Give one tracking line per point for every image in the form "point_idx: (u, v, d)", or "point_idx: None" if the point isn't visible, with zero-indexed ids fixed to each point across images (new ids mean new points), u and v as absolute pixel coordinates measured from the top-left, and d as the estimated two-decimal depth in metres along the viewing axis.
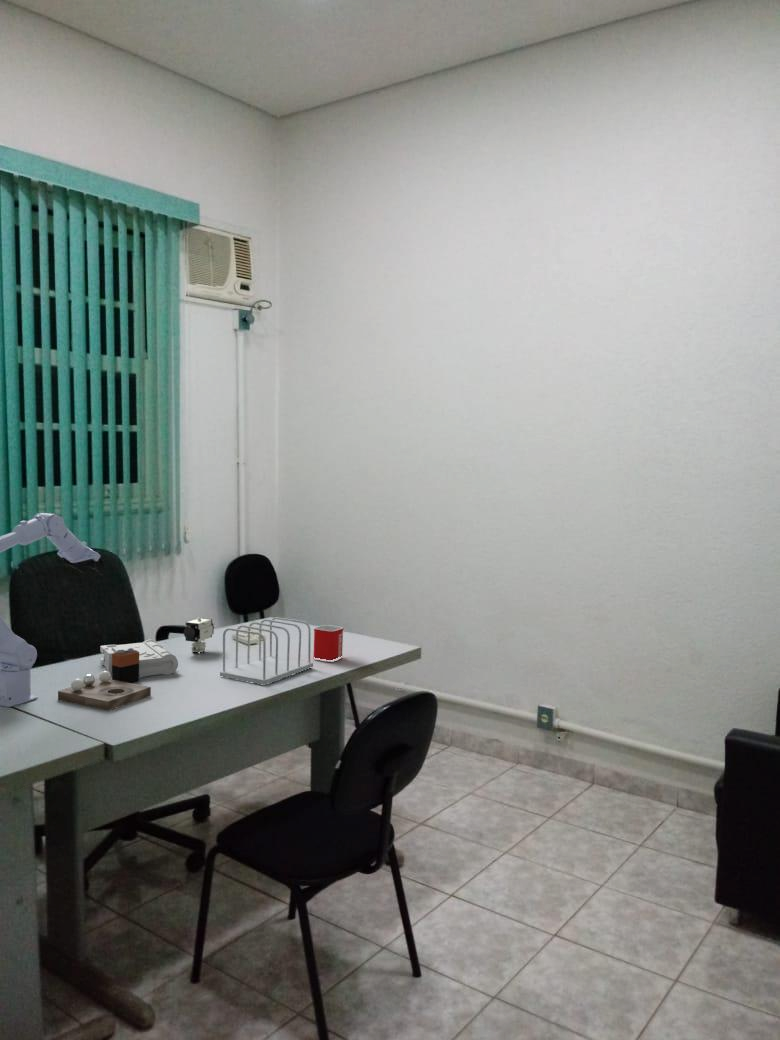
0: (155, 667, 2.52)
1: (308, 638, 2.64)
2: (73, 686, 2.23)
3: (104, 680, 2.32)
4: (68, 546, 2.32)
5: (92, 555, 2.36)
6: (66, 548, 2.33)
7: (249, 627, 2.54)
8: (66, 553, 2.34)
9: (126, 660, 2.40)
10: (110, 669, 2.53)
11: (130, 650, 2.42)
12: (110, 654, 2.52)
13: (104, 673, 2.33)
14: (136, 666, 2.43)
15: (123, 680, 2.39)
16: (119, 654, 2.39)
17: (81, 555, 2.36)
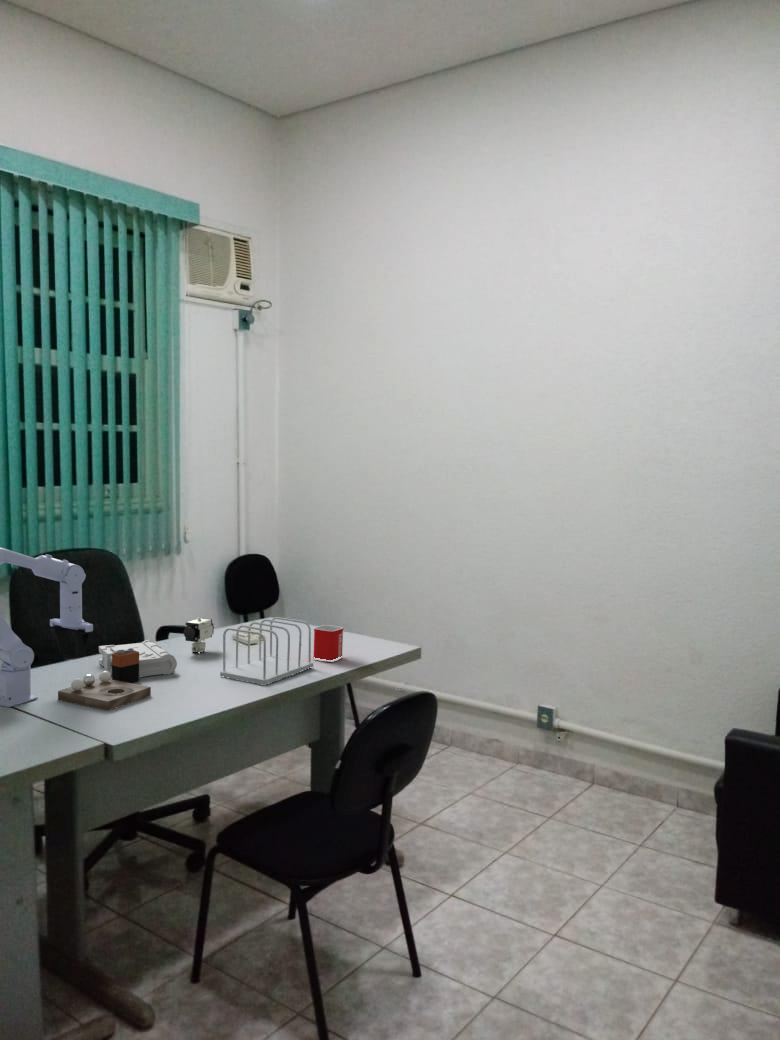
0: (154, 667, 2.51)
1: (309, 638, 2.64)
2: (73, 686, 2.23)
3: (104, 680, 2.32)
4: (68, 604, 2.28)
5: None
6: (66, 605, 2.28)
7: (249, 627, 2.54)
8: (65, 611, 2.29)
9: (126, 660, 2.40)
10: (109, 669, 2.52)
11: (130, 650, 2.42)
12: (109, 654, 2.52)
13: (104, 673, 2.33)
14: (136, 665, 2.43)
15: (123, 680, 2.39)
16: (119, 654, 2.39)
17: (75, 622, 2.30)
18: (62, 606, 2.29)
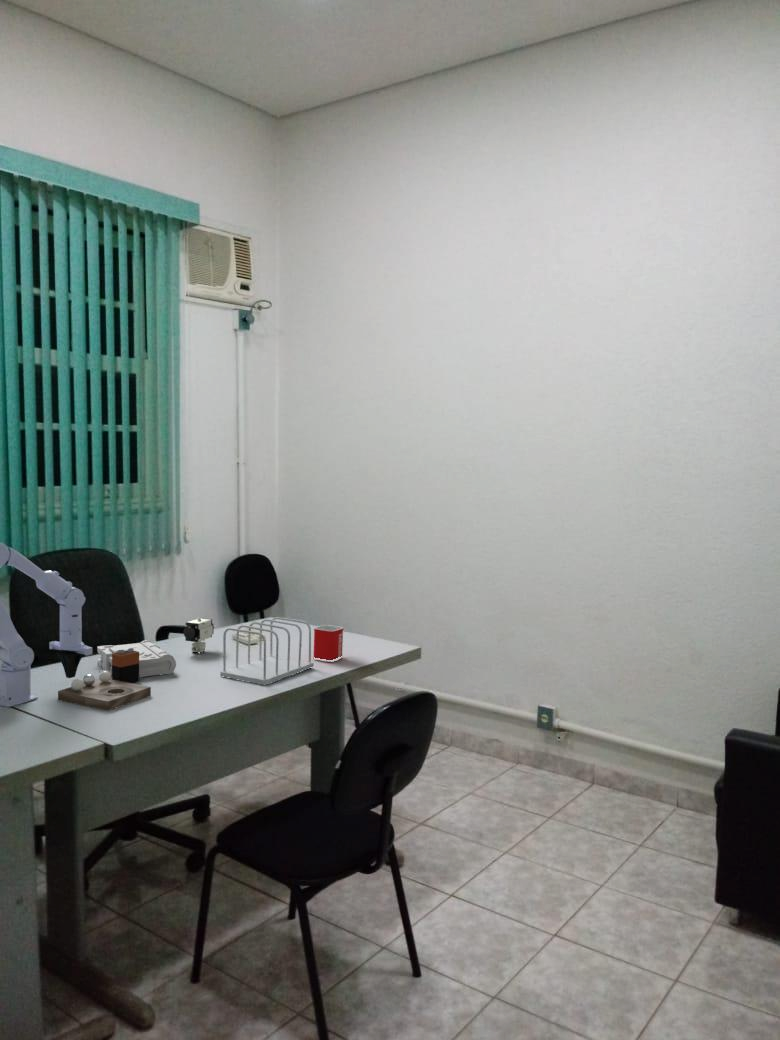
0: (153, 667, 2.51)
1: (309, 638, 2.64)
2: (73, 686, 2.23)
3: (104, 680, 2.32)
4: (68, 627, 2.29)
5: (86, 648, 2.29)
6: (65, 628, 2.29)
7: (249, 627, 2.54)
8: (64, 634, 2.29)
9: (126, 660, 2.40)
10: (107, 670, 2.52)
11: (130, 650, 2.42)
12: (107, 655, 2.52)
13: (104, 673, 2.33)
14: (136, 666, 2.43)
15: (123, 680, 2.39)
16: (119, 654, 2.39)
17: (75, 645, 2.30)
18: (62, 629, 2.29)
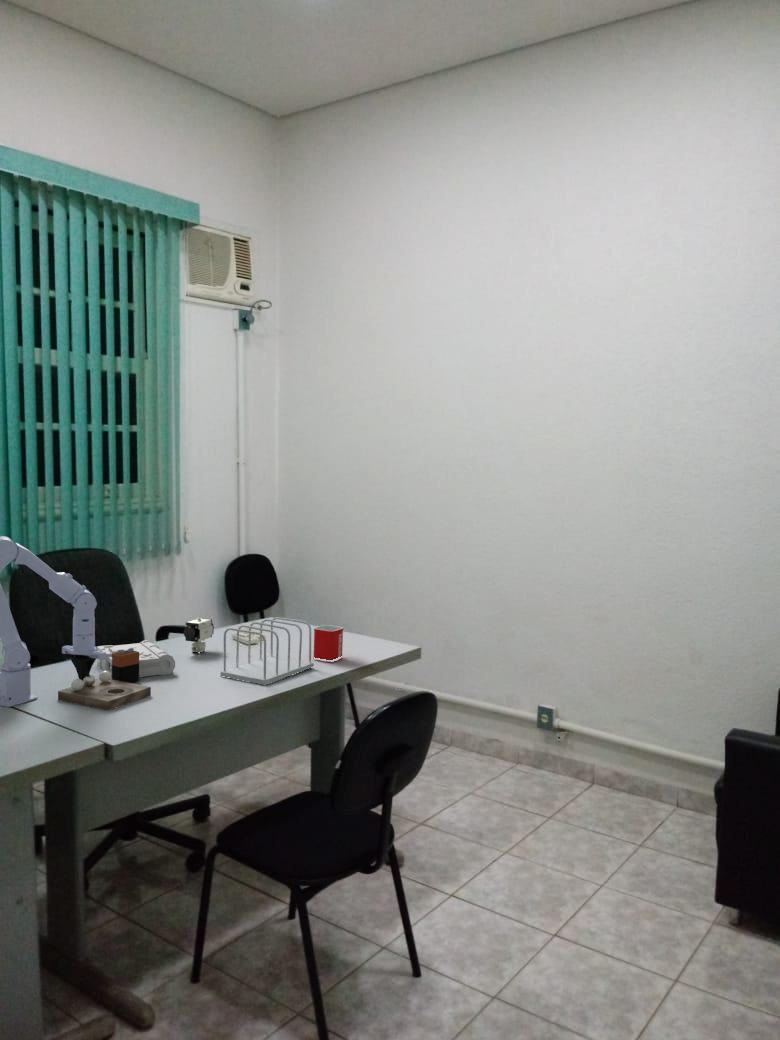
0: (152, 668, 2.51)
1: (309, 638, 2.64)
2: (73, 686, 2.23)
3: (104, 680, 2.32)
4: (78, 631, 2.27)
5: None
6: (76, 632, 2.27)
7: (250, 627, 2.54)
8: (78, 639, 2.27)
9: (126, 660, 2.40)
10: (107, 670, 2.52)
11: (130, 650, 2.42)
12: (107, 655, 2.51)
13: (104, 673, 2.33)
14: (136, 666, 2.43)
15: (123, 680, 2.39)
16: (119, 654, 2.39)
17: (88, 650, 2.28)
18: (73, 633, 2.28)
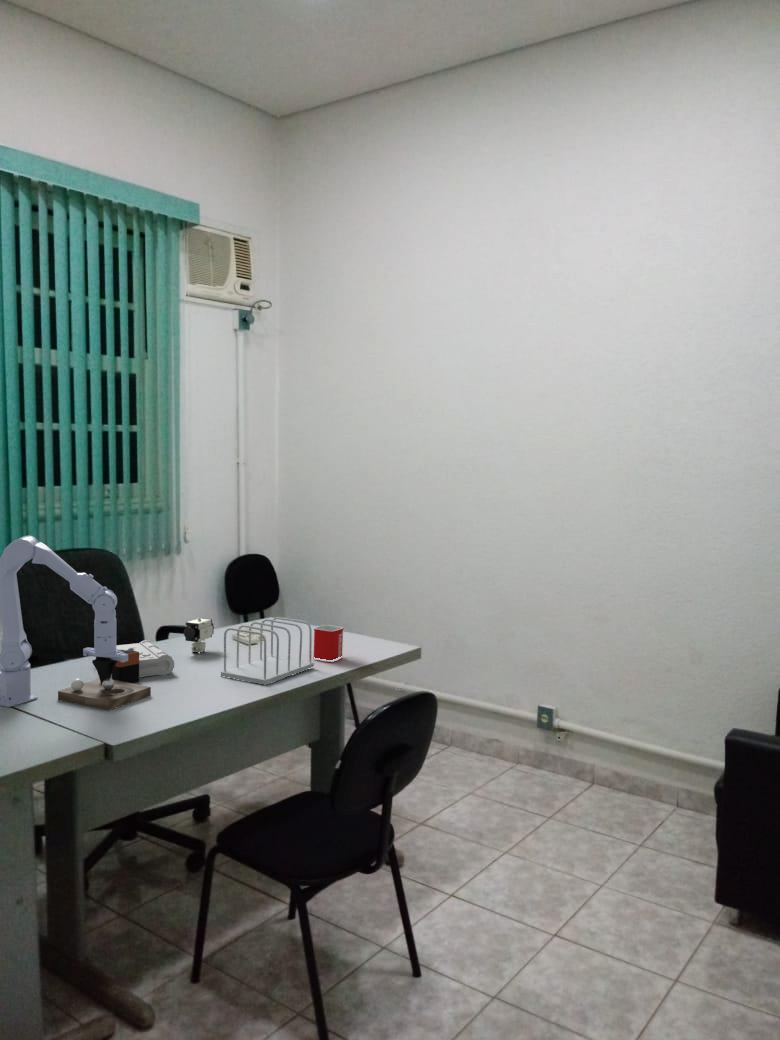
0: (151, 668, 2.51)
1: (309, 638, 2.64)
2: (73, 686, 2.23)
3: None
4: (98, 633, 2.23)
5: None
6: (96, 634, 2.24)
7: (250, 627, 2.54)
8: (99, 641, 2.24)
9: None
10: None
11: (130, 650, 2.42)
12: None
13: None
14: (136, 666, 2.43)
15: (122, 680, 2.39)
16: None
17: (110, 652, 2.25)
18: (94, 635, 2.25)
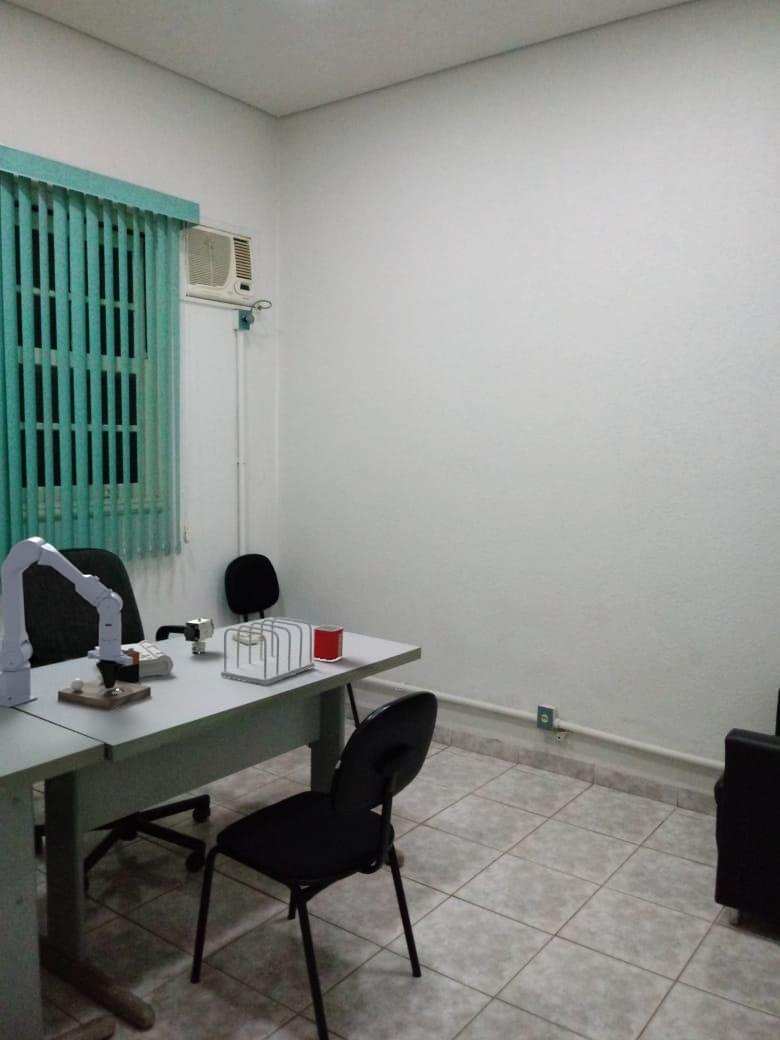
0: (150, 668, 2.50)
1: (310, 638, 2.64)
2: (73, 686, 2.23)
3: None
4: (102, 636, 2.23)
5: None
6: (100, 636, 2.23)
7: (250, 627, 2.54)
8: (104, 644, 2.23)
9: None
10: None
11: (130, 650, 2.42)
12: None
13: None
14: (136, 666, 2.43)
15: (122, 680, 2.39)
16: None
17: (114, 655, 2.24)
18: (99, 637, 2.24)
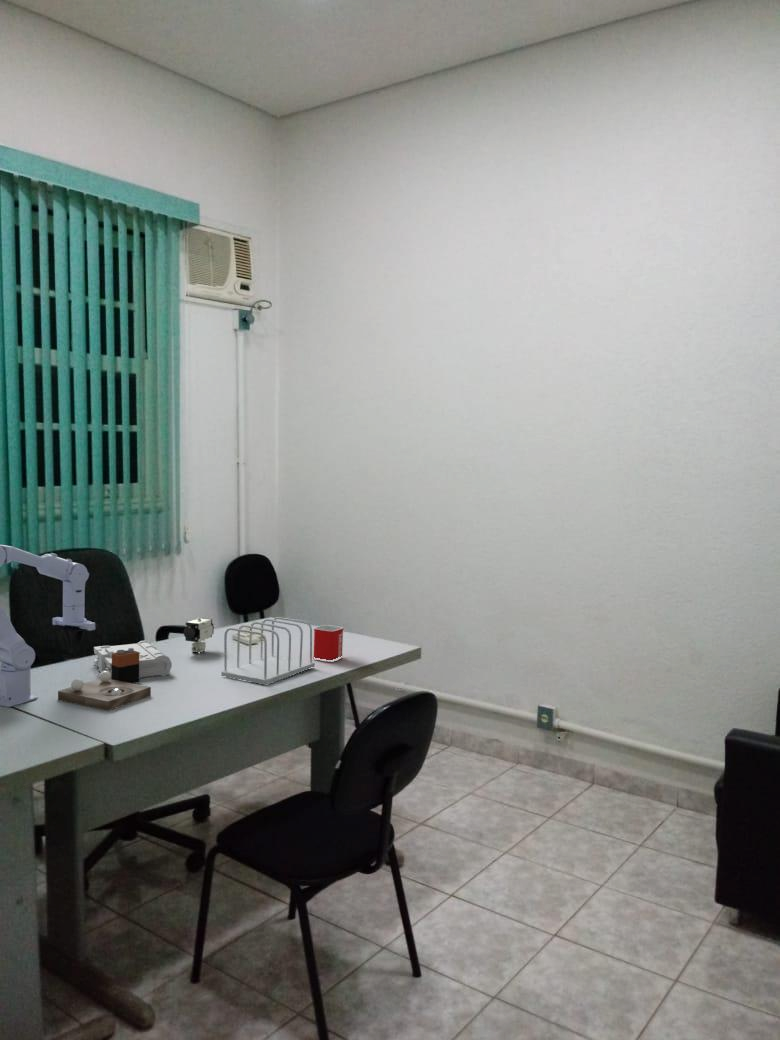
0: (148, 668, 2.50)
1: (310, 638, 2.64)
2: (73, 686, 2.23)
3: (104, 680, 2.32)
4: (72, 602, 2.31)
5: (88, 623, 2.31)
6: (69, 603, 2.31)
7: (250, 627, 2.54)
8: (67, 609, 2.31)
9: (125, 660, 2.39)
10: (103, 670, 2.51)
11: (130, 650, 2.42)
12: (103, 655, 2.51)
13: (104, 673, 2.33)
14: (136, 666, 2.42)
15: (122, 680, 2.39)
16: (118, 654, 2.39)
17: (78, 621, 2.32)
18: (65, 605, 2.31)
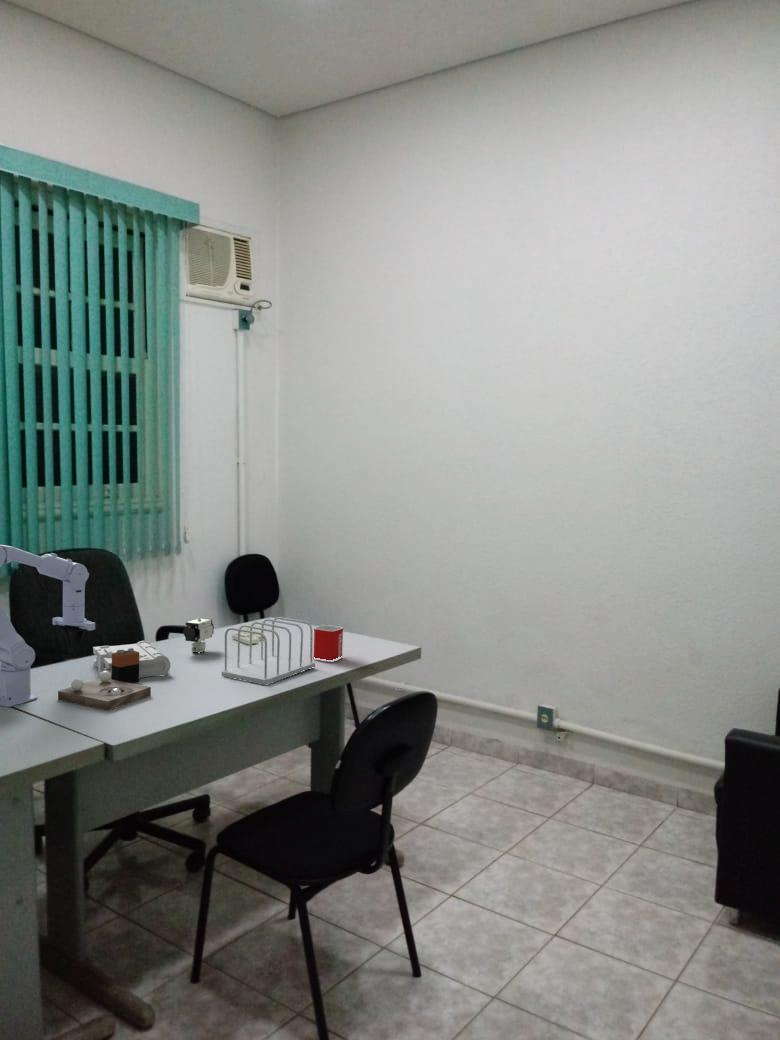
0: (147, 668, 2.50)
1: (310, 638, 2.64)
2: (73, 686, 2.23)
3: (104, 680, 2.32)
4: (72, 602, 2.31)
5: (88, 623, 2.31)
6: (69, 603, 2.31)
7: (251, 627, 2.54)
8: (67, 609, 2.31)
9: (125, 660, 2.39)
10: (102, 670, 2.51)
11: (130, 650, 2.42)
12: (102, 655, 2.50)
13: (104, 673, 2.33)
14: (136, 666, 2.42)
15: (122, 680, 2.39)
16: (118, 654, 2.39)
17: (78, 621, 2.32)
18: (65, 605, 2.31)
